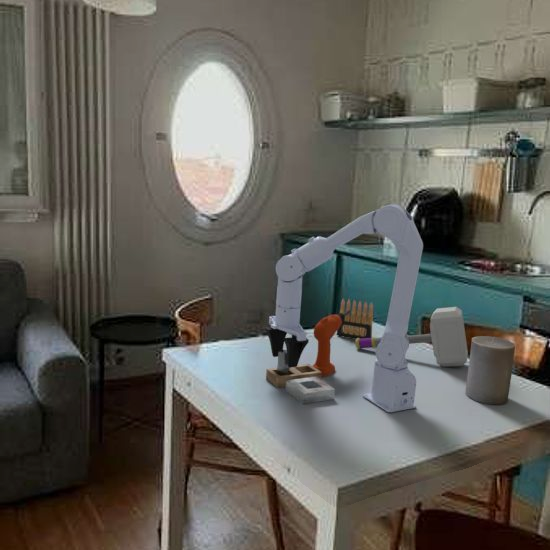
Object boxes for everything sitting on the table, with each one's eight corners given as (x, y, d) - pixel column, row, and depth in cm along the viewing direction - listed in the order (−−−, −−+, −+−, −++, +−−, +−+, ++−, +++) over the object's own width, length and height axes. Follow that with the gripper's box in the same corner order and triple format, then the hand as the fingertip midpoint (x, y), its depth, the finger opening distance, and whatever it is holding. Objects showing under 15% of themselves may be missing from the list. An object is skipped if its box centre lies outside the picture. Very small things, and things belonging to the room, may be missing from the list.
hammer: (349, 321, 160) (459, 311, 149) (355, 315, 168) (461, 305, 156) (357, 373, 162) (467, 366, 151) (363, 364, 169) (468, 358, 158)
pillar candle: (511, 396, 136) (519, 336, 133) (503, 409, 128) (512, 345, 125) (470, 386, 141) (477, 328, 138) (460, 398, 133) (467, 336, 130)
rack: (308, 373, 142) (309, 363, 142) (321, 381, 137) (322, 372, 137) (265, 378, 136) (266, 369, 136) (277, 387, 131) (278, 377, 131)
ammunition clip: (371, 340, 174) (375, 302, 172) (370, 341, 173) (374, 303, 170) (337, 334, 178) (341, 297, 176) (336, 335, 176) (339, 298, 174)
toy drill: (355, 354, 155) (358, 302, 151) (324, 381, 140) (326, 325, 135) (339, 350, 157) (341, 299, 153) (307, 376, 142) (308, 321, 138)
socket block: (334, 399, 127) (334, 389, 126) (303, 404, 123) (304, 393, 123) (315, 386, 134) (315, 376, 133) (285, 390, 130) (286, 380, 130)
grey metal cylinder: (291, 383, 135) (293, 353, 133) (279, 384, 133) (281, 354, 132) (285, 378, 137) (287, 349, 136) (274, 380, 136) (276, 350, 135)
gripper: (259, 299, 136) (256, 353, 139) (288, 314, 124) (284, 373, 126) (284, 297, 139) (281, 350, 142) (316, 312, 127) (311, 370, 130)
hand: (284, 361), depth 134 cm, fingers open, 7 cm apart
